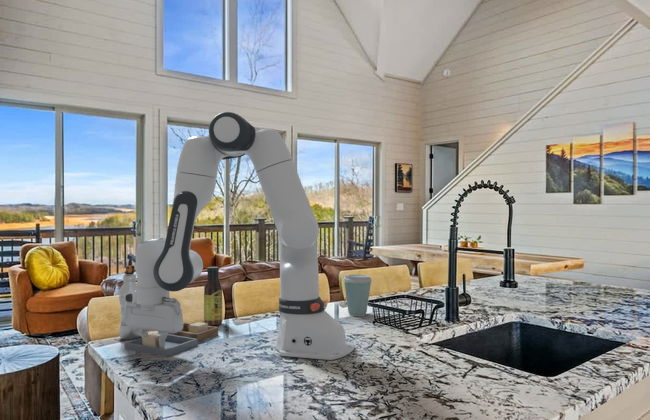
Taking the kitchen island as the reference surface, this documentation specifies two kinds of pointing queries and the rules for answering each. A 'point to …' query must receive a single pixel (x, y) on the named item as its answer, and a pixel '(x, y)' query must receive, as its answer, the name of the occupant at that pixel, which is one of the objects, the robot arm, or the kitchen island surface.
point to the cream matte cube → (198, 327)
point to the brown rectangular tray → (200, 336)
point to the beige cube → (151, 340)
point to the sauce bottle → (213, 298)
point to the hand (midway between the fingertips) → (153, 345)
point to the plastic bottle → (126, 288)
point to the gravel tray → (171, 346)
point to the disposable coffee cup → (357, 293)
